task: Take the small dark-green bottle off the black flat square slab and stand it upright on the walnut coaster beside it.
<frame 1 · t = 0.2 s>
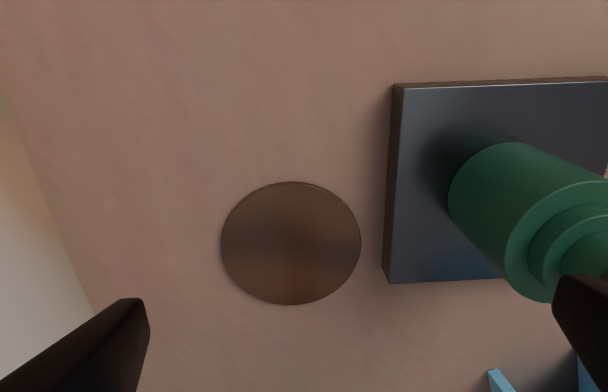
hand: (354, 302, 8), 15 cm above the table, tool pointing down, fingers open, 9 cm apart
walnut coaster: (291, 245, 24), on the table
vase: (538, 388, 31), on the table
black flat square slab: (481, 180, 23), on the table
green bottle: (498, 192, 21), point 2 cm above the table, touching black flat square slab
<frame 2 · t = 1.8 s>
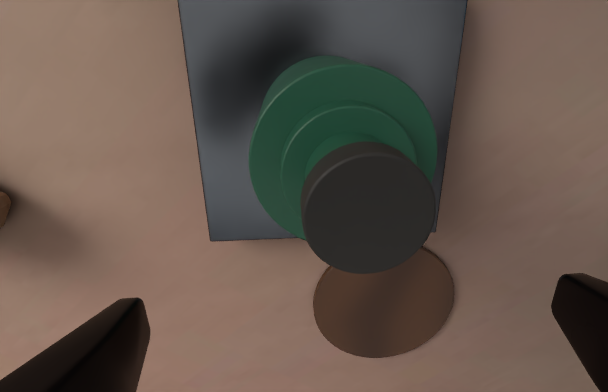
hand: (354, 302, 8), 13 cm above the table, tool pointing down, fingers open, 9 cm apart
walnut coaster: (382, 301, 24), on the table
black flat square slab: (320, 116, 19), on the table
green bottle: (324, 124, 17), point 2 cm above the table, touching black flat square slab
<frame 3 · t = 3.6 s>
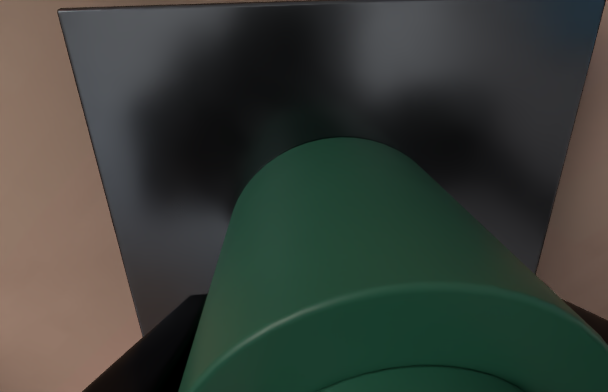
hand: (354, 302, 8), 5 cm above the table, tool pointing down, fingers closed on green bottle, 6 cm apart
black flat square slab: (329, 211, 12), on the table
green bottle: (337, 242, 10), point 2 cm above the table, touching black flat square slab, gripper
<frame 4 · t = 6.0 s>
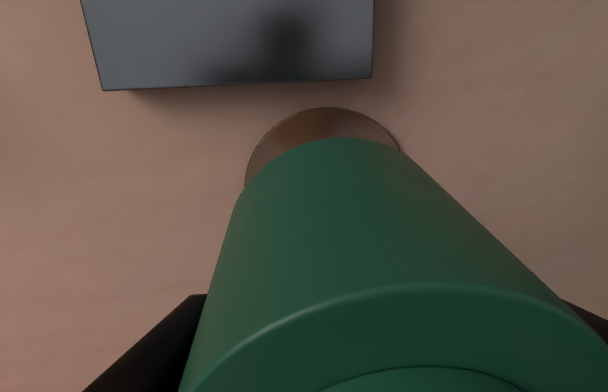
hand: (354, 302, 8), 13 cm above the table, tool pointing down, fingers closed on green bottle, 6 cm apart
walnut coaster: (325, 188, 21), on the table
green bottle: (337, 242, 10), point 10 cm above the table, touching gripper
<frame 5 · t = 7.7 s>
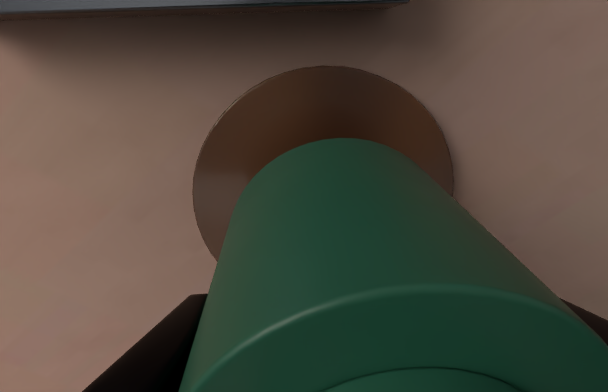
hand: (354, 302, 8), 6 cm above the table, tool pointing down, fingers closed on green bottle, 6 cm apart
walnut coaster: (323, 199, 13), on the table
green bottle: (337, 242, 10), point 3 cm above the table, touching gripper
when the fingers open (3 cm above the table, at t = 8.9 s): green bottle stays where it is, resting on walnut coaster.
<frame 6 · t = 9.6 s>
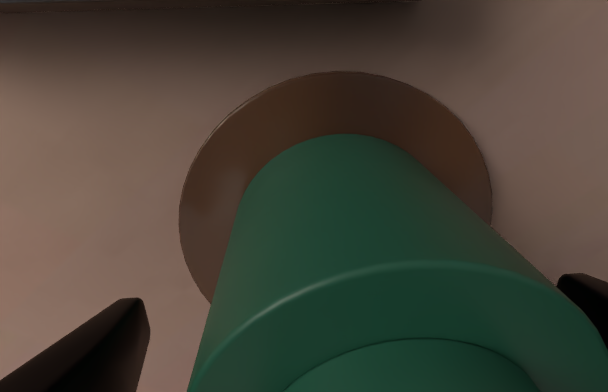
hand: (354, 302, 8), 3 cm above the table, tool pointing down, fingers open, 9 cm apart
walnut coaster: (335, 229, 11), on the table
green bottle: (339, 235, 11), resting on walnut coaster
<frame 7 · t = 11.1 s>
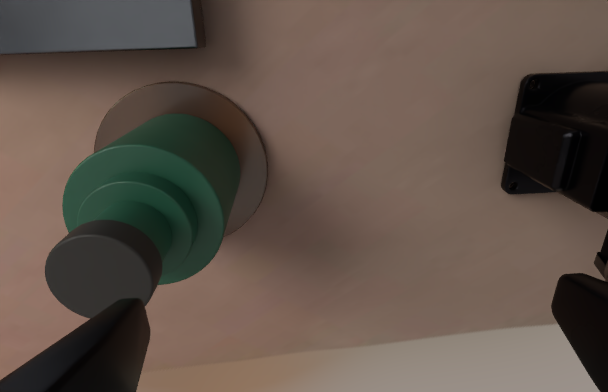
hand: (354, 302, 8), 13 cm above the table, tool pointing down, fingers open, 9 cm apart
walnut coaster: (184, 168, 20), on the table
green bottle: (183, 170, 20), resting on walnut coaster
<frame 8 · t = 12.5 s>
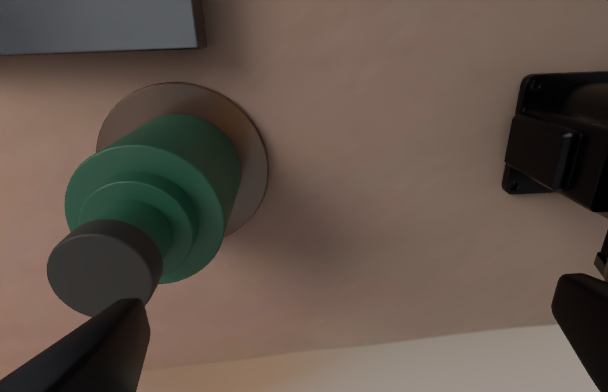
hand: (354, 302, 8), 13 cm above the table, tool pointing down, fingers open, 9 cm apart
walnut coaster: (185, 167, 20), on the table
green bottle: (184, 169, 20), resting on walnut coaster
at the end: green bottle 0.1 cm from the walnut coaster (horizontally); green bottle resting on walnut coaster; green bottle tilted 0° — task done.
